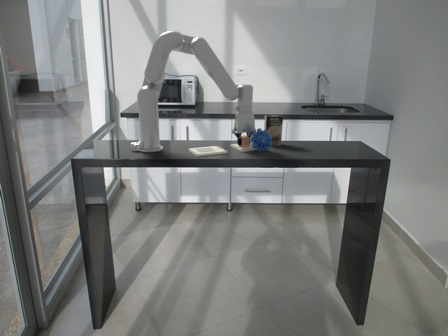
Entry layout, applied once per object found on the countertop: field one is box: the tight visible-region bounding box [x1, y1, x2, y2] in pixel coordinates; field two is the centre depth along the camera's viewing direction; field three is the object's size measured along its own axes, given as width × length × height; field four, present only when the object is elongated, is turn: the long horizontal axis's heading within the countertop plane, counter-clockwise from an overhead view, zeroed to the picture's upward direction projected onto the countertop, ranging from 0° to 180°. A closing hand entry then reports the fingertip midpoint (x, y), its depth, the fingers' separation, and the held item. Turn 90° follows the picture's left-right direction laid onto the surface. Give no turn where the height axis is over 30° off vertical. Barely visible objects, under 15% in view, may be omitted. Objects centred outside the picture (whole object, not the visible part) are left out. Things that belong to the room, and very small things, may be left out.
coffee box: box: [263, 114, 284, 147], centre depth 193 cm, size 9×6×16 cm
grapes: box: [250, 127, 273, 153], centre depth 177 cm, size 12×7×12 cm, turn 102°
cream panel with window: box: [188, 145, 228, 157], centre depth 177 cm, size 16×12×1 cm
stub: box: [230, 135, 256, 153], centre depth 184 cm, size 8×12×6 cm, turn 25°
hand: (243, 144), depth 185 cm, fingers closed on stub, 4 cm apart
